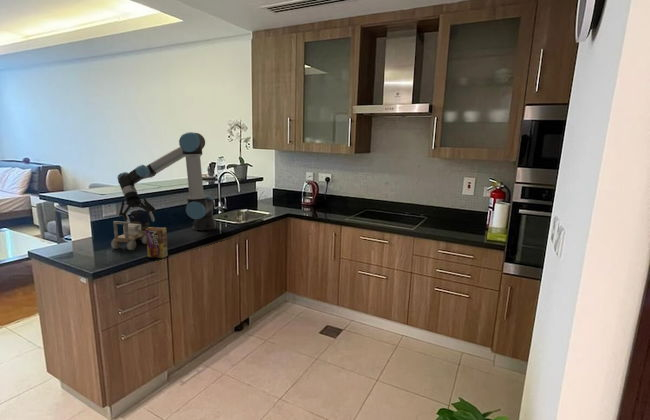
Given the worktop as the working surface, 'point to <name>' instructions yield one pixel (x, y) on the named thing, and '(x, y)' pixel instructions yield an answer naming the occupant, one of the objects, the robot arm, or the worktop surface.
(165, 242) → the candy box
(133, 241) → the wooden toy truck
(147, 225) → the canister
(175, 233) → the worktop surface
